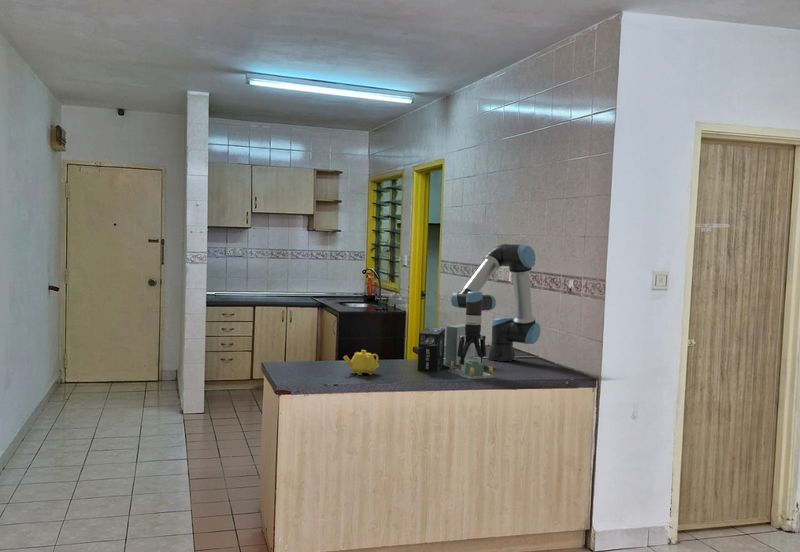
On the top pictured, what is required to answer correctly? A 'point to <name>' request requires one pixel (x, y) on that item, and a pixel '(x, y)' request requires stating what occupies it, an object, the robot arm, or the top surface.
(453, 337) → the hard drive box
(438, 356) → the box
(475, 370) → the green rectangular block
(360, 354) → the teapot
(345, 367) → the top surface
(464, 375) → the chassis
